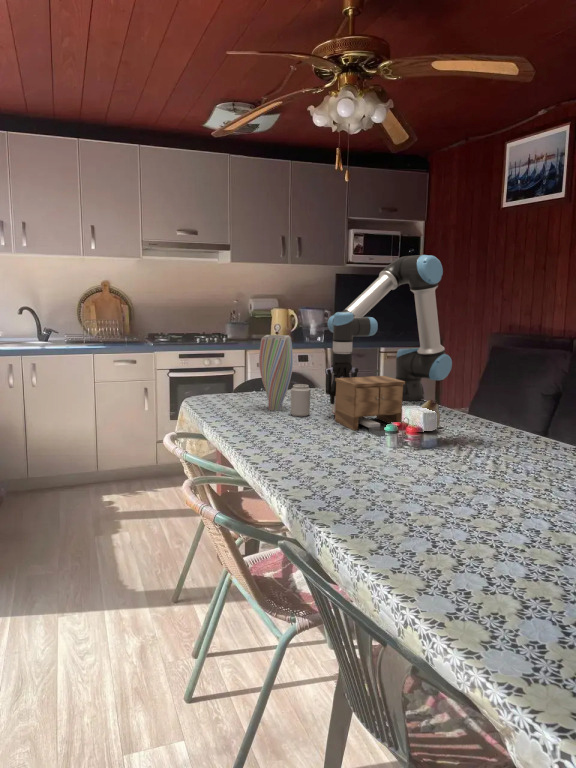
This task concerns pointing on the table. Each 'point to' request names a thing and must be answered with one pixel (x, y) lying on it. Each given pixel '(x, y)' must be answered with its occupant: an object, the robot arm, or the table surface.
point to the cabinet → (368, 399)
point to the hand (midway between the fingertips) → (340, 411)
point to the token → (377, 430)
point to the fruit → (432, 408)
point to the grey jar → (300, 400)
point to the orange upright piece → (366, 421)
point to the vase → (276, 367)
